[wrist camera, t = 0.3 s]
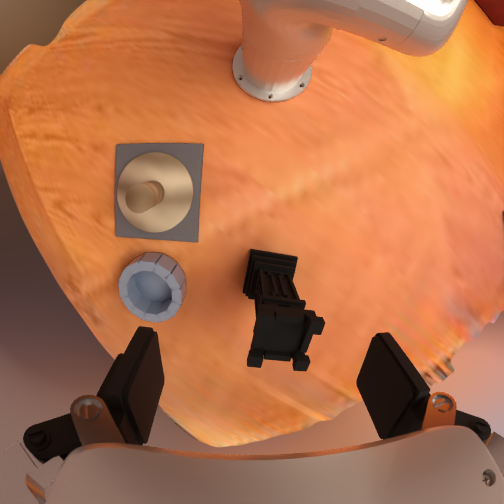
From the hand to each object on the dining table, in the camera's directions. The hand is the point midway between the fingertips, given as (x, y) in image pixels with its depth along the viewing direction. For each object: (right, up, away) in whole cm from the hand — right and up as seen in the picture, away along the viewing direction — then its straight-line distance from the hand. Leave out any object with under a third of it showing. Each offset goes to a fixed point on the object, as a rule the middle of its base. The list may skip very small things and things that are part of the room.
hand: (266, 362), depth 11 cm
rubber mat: (-16, +14, +32) cm, 38 cm away
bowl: (-18, -1, +37) cm, 41 cm away
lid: (-16, +14, +31) cm, 38 cm away
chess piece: (+2, +1, +37) cm, 37 cm away
